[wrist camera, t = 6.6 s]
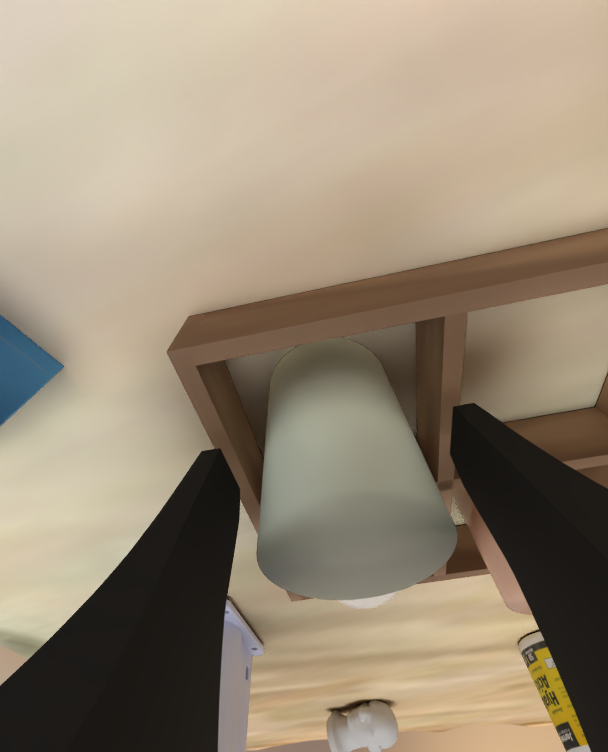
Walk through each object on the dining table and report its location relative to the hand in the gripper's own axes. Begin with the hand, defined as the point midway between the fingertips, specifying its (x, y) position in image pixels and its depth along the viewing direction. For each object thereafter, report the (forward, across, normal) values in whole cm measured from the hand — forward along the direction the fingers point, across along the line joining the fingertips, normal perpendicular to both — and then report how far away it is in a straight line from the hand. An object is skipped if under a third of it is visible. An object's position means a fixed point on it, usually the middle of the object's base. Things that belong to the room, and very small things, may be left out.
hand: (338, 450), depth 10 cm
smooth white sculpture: (+4, +4, +46) cm, 47 cm away
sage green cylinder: (+3, 0, 0) cm, 3 cm away
